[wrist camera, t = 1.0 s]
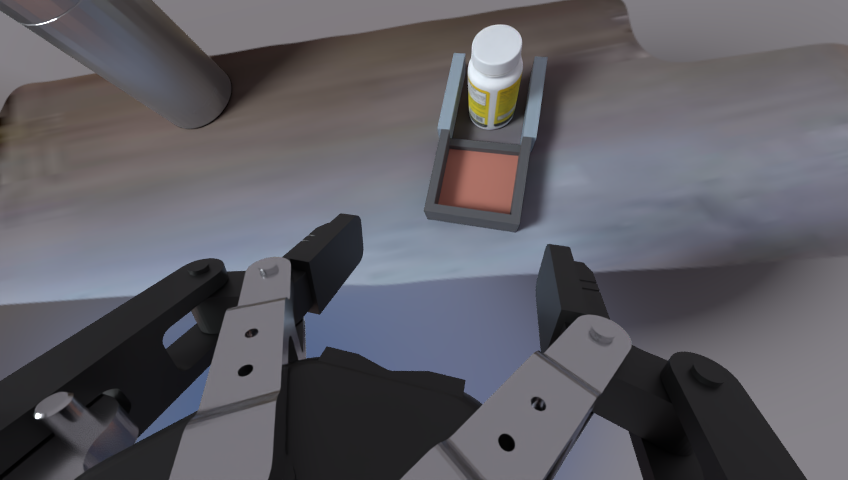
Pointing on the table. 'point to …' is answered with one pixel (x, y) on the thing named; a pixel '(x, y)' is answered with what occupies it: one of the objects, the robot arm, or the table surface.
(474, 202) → the trap bin
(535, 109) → the trough
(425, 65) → the table surface
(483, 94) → the supplement bottle
